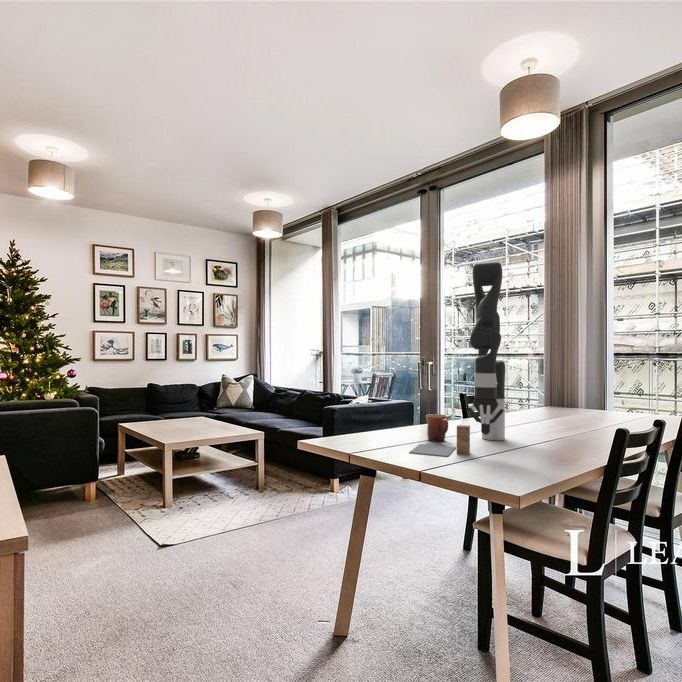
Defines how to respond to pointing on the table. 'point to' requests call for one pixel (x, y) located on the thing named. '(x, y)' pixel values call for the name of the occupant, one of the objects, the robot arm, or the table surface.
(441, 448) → the mat
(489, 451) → the table surface
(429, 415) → the mug
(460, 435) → the walnut block
